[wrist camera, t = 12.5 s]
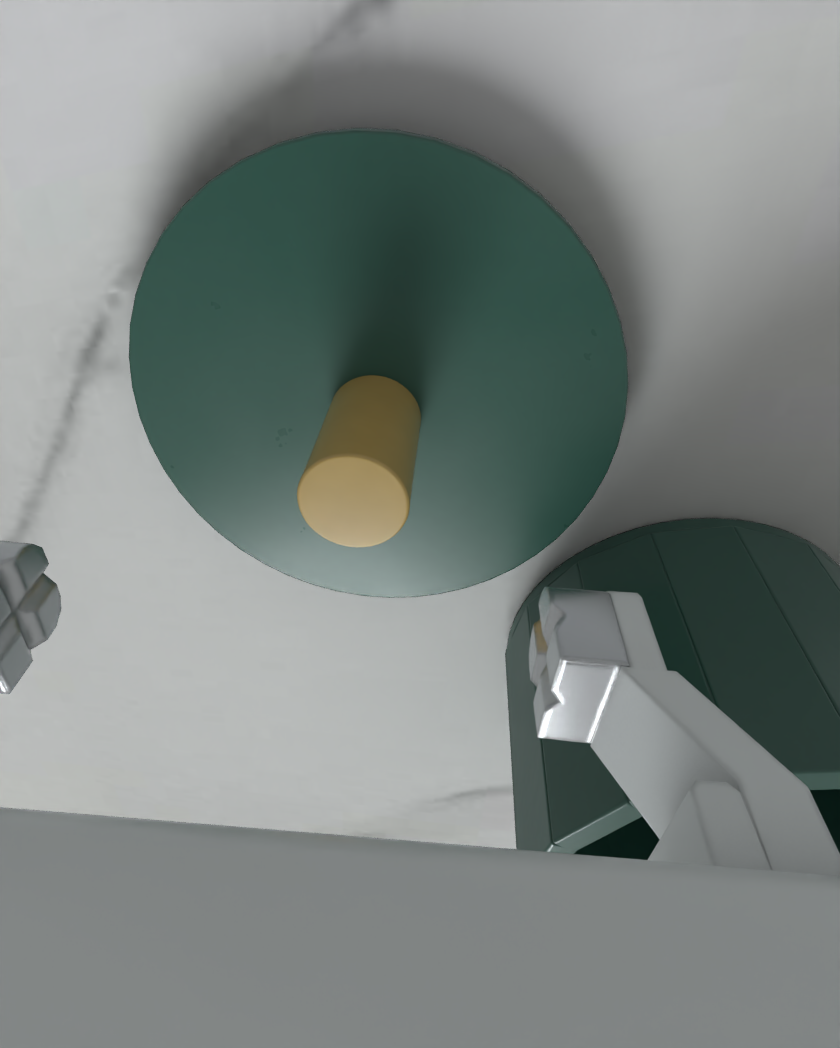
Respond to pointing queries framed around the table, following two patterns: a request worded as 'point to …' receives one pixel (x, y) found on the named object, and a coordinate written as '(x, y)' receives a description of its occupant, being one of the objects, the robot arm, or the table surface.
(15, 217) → the table surface
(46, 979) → the robot arm
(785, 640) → the tin
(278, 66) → the table surface
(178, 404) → the tin lid
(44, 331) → the table surface
